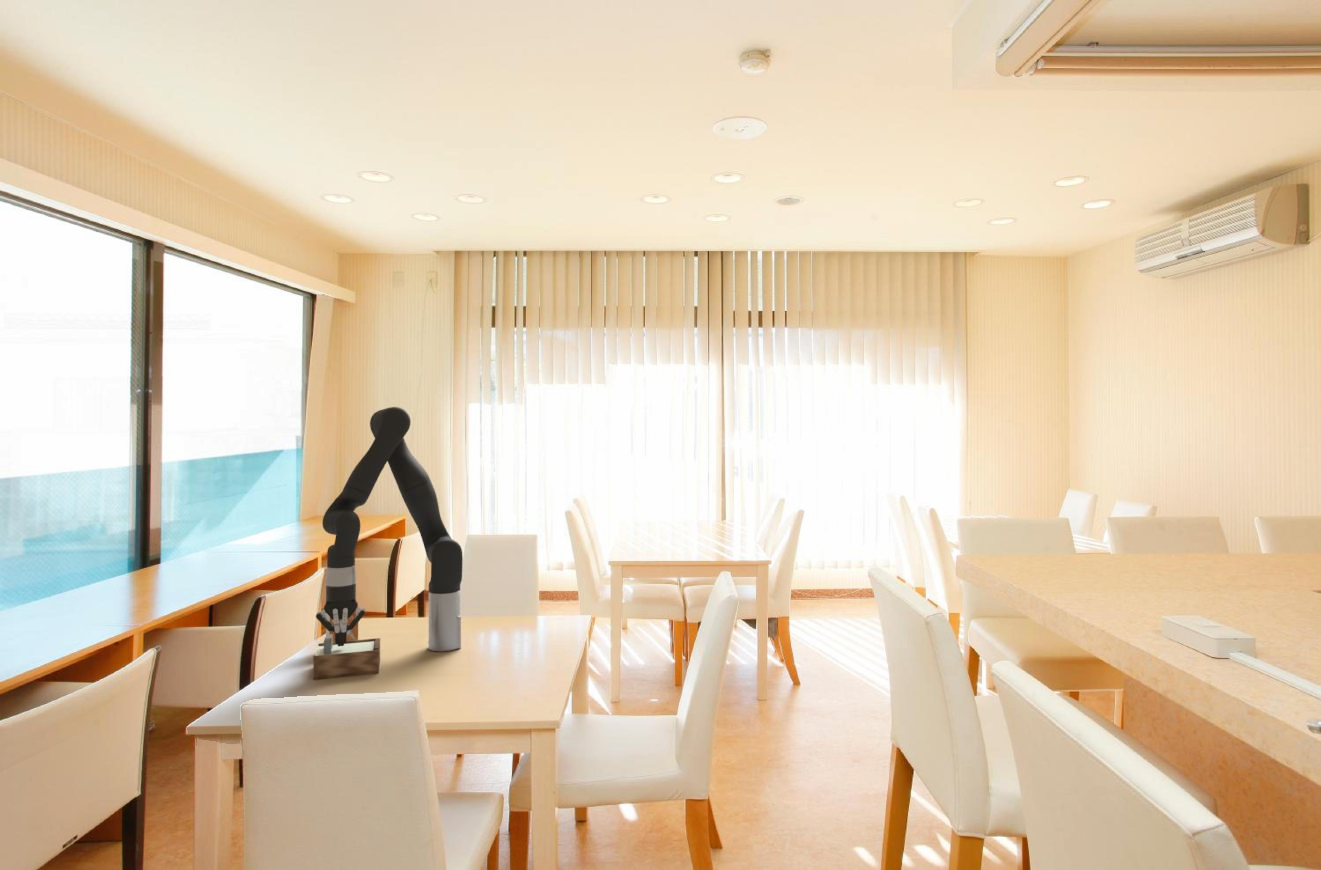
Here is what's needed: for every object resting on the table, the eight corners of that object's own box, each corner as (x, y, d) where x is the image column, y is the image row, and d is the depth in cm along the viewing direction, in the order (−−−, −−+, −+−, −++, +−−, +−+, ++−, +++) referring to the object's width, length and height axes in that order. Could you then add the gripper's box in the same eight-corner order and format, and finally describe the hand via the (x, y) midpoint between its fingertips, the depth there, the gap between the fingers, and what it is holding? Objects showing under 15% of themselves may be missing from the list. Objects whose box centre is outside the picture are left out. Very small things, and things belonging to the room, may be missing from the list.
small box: (329, 655, 209) (329, 611, 209) (325, 650, 214) (325, 606, 214) (358, 650, 213) (358, 607, 213) (354, 645, 219) (354, 603, 219)
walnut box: (380, 659, 205) (380, 636, 205) (378, 672, 194) (378, 649, 194) (318, 665, 200) (318, 642, 200) (313, 679, 188) (313, 655, 188)
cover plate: (374, 643, 204) (374, 628, 204) (372, 654, 194) (372, 639, 194) (318, 648, 199) (318, 633, 199) (313, 659, 189) (313, 644, 189)
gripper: (367, 578, 202) (367, 639, 202) (316, 581, 197) (315, 643, 197) (366, 583, 195) (366, 647, 195) (312, 586, 190) (312, 651, 190)
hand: (340, 645), depth 196 cm, fingers closed
